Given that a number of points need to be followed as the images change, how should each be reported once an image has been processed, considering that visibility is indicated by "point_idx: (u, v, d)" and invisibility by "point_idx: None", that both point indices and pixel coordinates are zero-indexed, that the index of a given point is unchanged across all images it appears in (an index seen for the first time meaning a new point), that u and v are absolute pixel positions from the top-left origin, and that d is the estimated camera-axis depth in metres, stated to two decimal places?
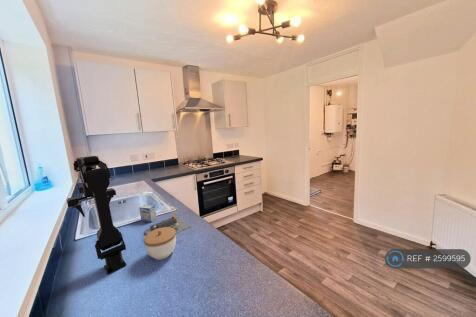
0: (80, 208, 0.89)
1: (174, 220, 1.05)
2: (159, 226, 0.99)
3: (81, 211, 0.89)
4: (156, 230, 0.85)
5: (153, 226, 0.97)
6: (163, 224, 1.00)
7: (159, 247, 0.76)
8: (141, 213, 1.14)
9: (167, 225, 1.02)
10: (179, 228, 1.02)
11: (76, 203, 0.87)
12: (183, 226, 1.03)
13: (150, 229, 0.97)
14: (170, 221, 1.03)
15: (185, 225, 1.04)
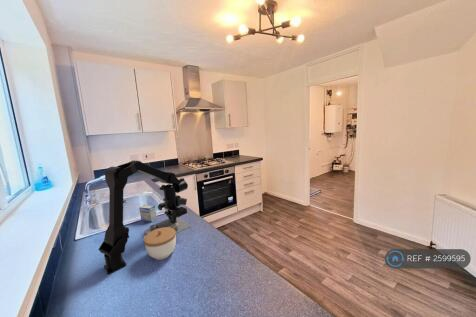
0: (167, 216, 1.01)
1: None
2: (159, 226, 0.99)
3: (169, 218, 1.01)
4: (156, 230, 0.85)
5: (153, 226, 0.97)
6: (163, 224, 1.00)
7: (159, 247, 0.76)
8: (141, 213, 1.14)
9: (167, 225, 1.02)
10: (179, 228, 1.02)
11: (160, 209, 1.03)
12: (183, 226, 1.03)
13: (150, 229, 0.97)
14: (170, 221, 1.03)
15: (185, 225, 1.04)
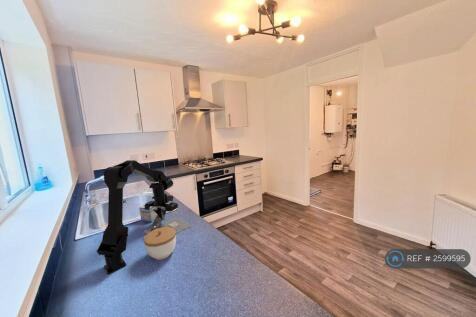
0: (157, 213, 1.05)
1: None
2: (157, 225, 1.00)
3: (159, 215, 1.06)
4: (156, 230, 0.85)
5: (153, 226, 0.98)
6: (158, 222, 1.03)
7: (159, 247, 0.76)
8: (141, 213, 1.14)
9: (159, 223, 1.05)
10: (179, 228, 1.02)
11: (147, 207, 1.06)
12: (183, 226, 1.03)
13: (152, 229, 0.96)
14: (159, 219, 1.06)
15: (185, 225, 1.04)
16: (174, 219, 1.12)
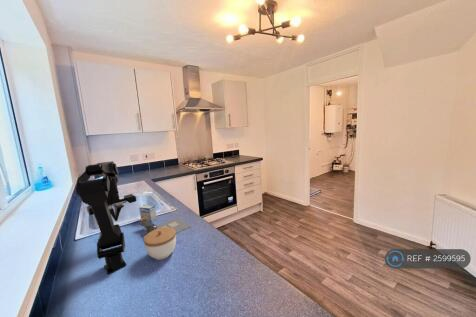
0: (113, 212, 0.88)
1: None
2: None
3: (113, 215, 0.88)
4: (156, 230, 0.85)
5: (153, 226, 0.98)
6: None
7: (159, 247, 0.76)
8: (141, 213, 1.14)
9: None
10: (179, 228, 1.02)
11: None
12: (183, 226, 1.03)
13: (155, 228, 0.97)
14: None
15: (185, 225, 1.04)
16: (174, 219, 1.12)
